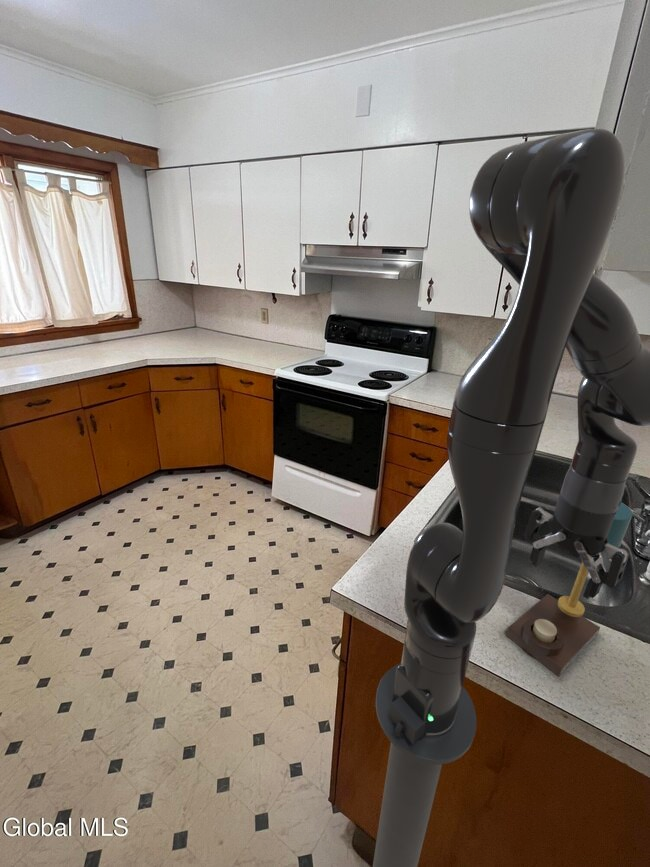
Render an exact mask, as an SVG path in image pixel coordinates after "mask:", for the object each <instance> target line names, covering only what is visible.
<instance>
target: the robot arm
mask: <svg viewBox="0 0 650 867" xmlns="http://www.w3.org/2000/svg"><path fill="white" fill-rule="evenodd" d="M625 162H626V161H625V152H624V150H623V146H622V143H621V141H620V139H619V138H618V137H617V136H616V135H615V133H613V132H612V131H610V130H608V129H605V128H587V129H581V130H577V131H576V130H575V131H570V132H567V133H560V134H556V135H551V136H546V137H541V138H536V139H533V140H532V139H531V140H527V141H523V142H519V143H515V144H512V145H510V146H508V147H504V148H502V149H499V150H497V151H496V152H494V153H493V154H491V155H490V157H488V158H487V160H485V161H484V162H483V164H482V165H481V166H480V168H479V169H478V171H477V173H476V175H475V177H474V179H473V182H472V186H471V189H470V193H469V201H468V207H469V208H468V209H469V212H468V213H469V219H470V223H471V226H472V229H473V232H474V233H475V235H476V237H477V238H478V240H479V241H480V243H481V244H482V245H483V247H484V248H485V249H486V250H487V251H488V252H489V254H491V256H492V257H493V258H494V259H495V260H496V261H497V262H498V263H499V264H500V265H501V267H502V268H504V270H505V271H506V272H507V273H508V274H509V275H510V276H511V278H512V279H513V280H514V281H515V282H516V284H518V289H517V293H516V295H515V299H514V302H513V304H512V307H511V309H510V312H509V313H508V315H507V318H506V320H505V321H504V322H503V324H502V325H501V327H500V329H499V330H498V331H497V333H496V334H495V335H494V336H493V338H492V339H491V340H490V341H489V342H488V343H487V345H486V346H485V347H484V348H483V349H482V351H481V352H480V353H479V354H478V355H477V356H476V357H475V359H474V360H473V361H472V363H471V364H470V366H469V367H468V368H467V369H466V371H465V372H464V373H463V375H462V376H461V378H460V380H459V382H458V384H457V387H456V389H455V393H454V397H453V403H452V408H451V413H450V417H449V424H448V428H447V433H446V434H447V436H446V450H447V457H448V463H449V468H450V472H451V475H452V480H453V483H454V486H455V490H456V493H457V494H456V495H457V497H458V501H459V505H460V511H461V516H462V529H460V527H458V526H456V525H454V524H452V523H450V522H439V523H435V524H432V525H430V526H429V527H427V528H426V529H424V530H423V531H422V532H421V533H420V534H419V536H418V537H417V539H416V540H415V542H414V543H413V545H412V546H411V547H412V548H411V550H410V552H409V555H408V559H407V563H406V570H405V585H404V596H403V597H404V598H403V606H404V607H403V608H404V612H405V615H406V617H407V621H406V628H405V634H404V641H403V646H402V647H403V648H402V655H401V661H400V664H401V665H400V666H398V667H397V670H396V678H395V685H394V692H393V699H392V704H391V711H390V717H391V719H392V720H393V721H394V722H395V723H396V725H397V727H396V730H395V734H396V736H397V737H405V736H406V737H407V738H408V739H409V740H410V741H411V743H412V744H413V743H415V742H416V741H417V740H418V739H419V740H422V739H423V738H424V737H438V736H442V735H444V734H446V733H447V732H448V731H450V729H451V728H452V727H453V725H454V723H455V719H456V715H457V708H458V704H459V700H460V696H461V692H462V688H463V687H464V684H465V679H466V676H467V671H468V666H469V662H470V659H471V655H472V651H473V647H474V643H475V640H476V639H475V638H476V634H477V622H478V621H480V620H482V619H483V618H485V617H486V616H487V615H488V614H489V612H490V611H491V610H492V609H493V608H494V606H495V605H496V603H497V601H498V600H499V598H500V595H501V594H502V591H503V588H504V585H505V582H506V578H507V575H508V574H507V573H508V569H509V564H510V557H511V552H512V546H513V540H514V539H513V538H514V532H515V527H516V523H517V517H518V515H519V514H518V513H519V509H520V505H521V502H522V497H523V493H524V490H525V486H526V484H527V479H528V476H529V472H530V470H531V466H532V463H533V460H534V457H535V456H536V451H537V449H538V445H539V442H540V439H541V435H542V432H543V428H544V425H545V421H546V418H547V414H548V411H549V406H550V402H551V398H552V394H553V390H554V386H555V383H556V380H557V376H558V373H559V371H560V368H561V367H560V366H561V364H562V361H563V360H562V359H563V357H564V354H565V350H566V352H567V353H568V355H569V357H570V359H571V361H572V363H573V364H574V366H575V368H576V370H577V371H578V373H579V375H581V376H582V378H581V381H580V383H579V385H578V390H577V402H576V403H577V442H576V443H577V444H576V446H575V450H574V453H573V457H572V460H571V463H570V465H569V468H568V469H567V471H566V473H565V476H564V479H563V482H562V485H561V489H560V491H559V495H558V498H557V502H556V505H555V508H554V510H553V511H554V512H553V514H552V513H549V512H548V511H547V509H546V507H545V506H543V505H540V506H538V507H537V508H535V509H534V510H532V511H531V513H530V516H529V519H528V522H527V523H526V526H525V530H524V532H523V538H524V539H525V540H526V541H529V542H531V544H532V549H531V552H530V555H529V560H530V562H531V566H533V567H535V568H537V567H538V566H540V565H541V564H542V562H543V560H544V556H545V553H546V550H547V547H548V546H550V545H554V544H556V545H557V546H558V547H557V548H559V549H560V550H561V551H564V552H567V553H569V554H570V555H572V556H573V557H575V558H576V559H579V558H580V560H581V563H582V562H583V565H584V567H585V568H586V569H588V571H589V573H588V575H589V576H590V578H589V579H588V581H587V583H586V587H585V590H584V592H583V595H582V597H583V598H585V599H587V600H589V599H590V598H591V599H594V598H595V597H597V595H598V594H599V593H600V591H601V588H602V587H603V585H606V587H608V588H611V589H613V588H614V587H616V586H617V584H618V583H619V582H621V581H622V579H623V575H624V573H625V569H626V567H627V563H628V559H629V557H630V553H631V552H630V549H629V548H628V547H625V546H622V547H618V548H617V547H615V546H613V545H611V544H609V543H608V540H607V536H608V533H609V531H610V528H611V525H612V523H613V520H614V517H615V515H616V512H617V509H618V507H619V506H620V504H621V503H622V502H623V497H624V493H625V487H626V482H627V479H628V477H629V474H630V471H631V469H632V466H633V464H634V461H635V459H636V456H637V452H638V443H637V442H636V441H635V439H633V437H632V436H631V435H629V434H627V433H626V432H625V431H624V430H622V429H621V428H620V427H619V426H618V425H617V423H616V421H615V420H619V421H621V422H624V423H627V424H629V425H632V426H637V427H647V426H650V349H648V348H647V347H646V346H645V345H644V344H643V341H642V338H641V336H640V333H639V331H638V328H637V325H636V323H635V320H634V317H633V315H632V313H631V311H630V309H629V308H628V306H627V305H626V303H625V302H624V301H623V299H622V298H621V296H619V295H618V294H617V293H616V292H615V291H614V290H613V289H612V287H610V286H609V285H608V284H607V283H606V282H604V281H603V280H602V279H601V278H600V277H598V276H597V275H596V274H595V270H596V267H597V266H598V263H599V260H600V257H601V256H602V253H603V250H604V247H605V245H606V243H607V240H608V237H609V235H610V232H611V230H612V228H613V227H612V226H613V225H614V224H613V223H614V221H615V218H616V215H617V211H618V207H619V205H620V201H621V197H622V192H623V188H624V180H625V171H626V170H625V168H626V165H625ZM546 522H547V524H548V527H549V530H550V533H547V534H545V535H542V536H541V534H540V533H539V531H540V528H541V526H542V524H543V525H544V523H546ZM602 552H605V553H606V554H607V560H608V561H609V562H610V566H609V568H608V571H607V569H606V567H605V565H604V558H603V555H602ZM590 556H592V558H591V557H590Z"/></svg>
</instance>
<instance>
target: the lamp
mask: <svg viewBox="0 0 650 867" xmlns="http://www.w3.org/2000/svg"><path fill="white" fill-rule="evenodd" d="M633 516H634V514H633V511H632V509H631V508H630V507H629V506H628V505H626V504H625V503H624V502H621V504H620V506H619V507H618V509H617V512H616V515H615V517H614V520H613V523H612V525H611V528H610V531H609V533H608V536H607V540H608V543H609V544H611V545H613V546H615V547H617V548H621V545H622V544H623V540H624V538H625V536H626V533H627V531H628V528H629V525H630V523H631V520H632V518H633ZM590 557H591V558H592V556H590ZM588 575H589V571H588V569H586V568H585V567H584V565H583V562H582V561H581V564H580V567H579V569H578V573H577V575H576V579H575V581H574V583H573V586H572V590H571V592H570V595H562V596H559V598H558V599H557V600H558V607H559V608H560V610H561V611H563V612H564V613H565V614H567V615H569V616H572V617H581V616H584V614H585V612H586V611H585V610H586V607H585V606H584V604H583V603H582V601H580V600H579V599H580V596H581V594H582V591H583V589H584V586H585V583H586V580H587V578H588Z"/></svg>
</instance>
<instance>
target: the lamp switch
mask: <svg viewBox="0 0 650 867" xmlns="http://www.w3.org/2000/svg"><path fill="white" fill-rule="evenodd" d="M532 631H533V634H534V636H535V637H536V638H538V639H539V640H540V641H543V642H546V643H551V642H553V641H554V639H555V636H556V634H557V629H556V627H555V626H554V625H553V624H552V623H551V622H550V621H548V620H545V619H538V620H536V621H535V623H534V626H533V629H532Z"/></svg>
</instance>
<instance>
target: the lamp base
mask: <svg viewBox="0 0 650 867" xmlns="http://www.w3.org/2000/svg"><path fill="white" fill-rule="evenodd" d="M558 600H559V599H558V598H555V597H554V596H552V595H551V594H549V593H547V594H545V596H544V597H542V598H541V599H540V600H539V601H537V603H535V604H534V605H533V606H532V607H531V608H529V609H528V610H527V611H526V612H524V613H523V614H522V615H521V616H520V617H519V618H517V619H516V620H515V621H514V622H512V623H511V624H510V625H509V626H508V627H507V630H506V634H505V635H506V637H507V638H508V639H510V640H511V641H512V642H514V643H515V644H517V645H518V646H519V647H520V648H521V649H522V650H524V651H525V652H527V653H528V654H529V655H530V656H532V657H533V658H534V659H535V660H537V662H540V664H542V665H543V666H544V667H545V668H547V669H548V670H550V671H551V672H552V673H553V674H555V675H556V676H557V677H560V676H562V674H563V673H564V672H565V671H567V669H568V667H570V665H571V664H572V663H574V661H575V660H576V659H577V658H578V657H579V656H580V655H581V654H582V653H583V651H584V650H585V649H586V648H587V647H588V646H589V645H590V644H592V642H593V641H594V640H595V638H597V636H598V634H599V632H600V630H601V627H600V626H598V625H597V624H595V623H594V622H592V621H591V620H589V619H588V618H586V617H585V616H584V615H582V616H581V617H572V616H569V615H567V614H565V613H564V612H563V611H561V610H560V608H559V607H558ZM538 619H545V620H548V621H550V622H551V623H552V624H553V625H554V626H555V627H556V629H557V634H556V636H555V639H554V641H553V642H551V643H546V642H543V641H540V640H539V639H538V638H536V637H535V636H534V634H533V631H532V629H533V626H534V623H535V621H536V620H538Z"/></svg>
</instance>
